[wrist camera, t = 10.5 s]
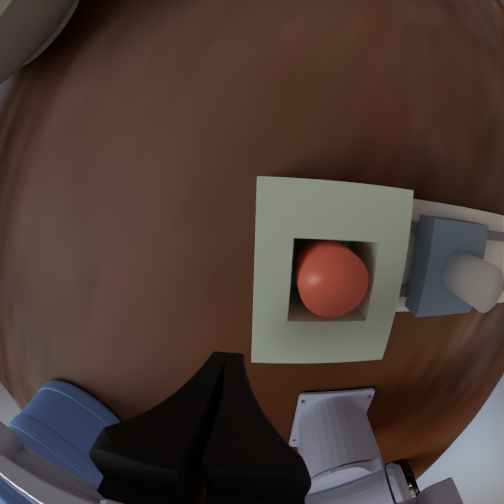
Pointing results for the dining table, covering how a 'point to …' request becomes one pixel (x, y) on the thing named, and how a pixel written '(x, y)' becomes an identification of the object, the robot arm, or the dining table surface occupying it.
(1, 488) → the water jug
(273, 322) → the track
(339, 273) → the plunger
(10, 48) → the decorative bowl
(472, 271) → the carriage
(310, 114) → the dining table surface
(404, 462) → the french press
